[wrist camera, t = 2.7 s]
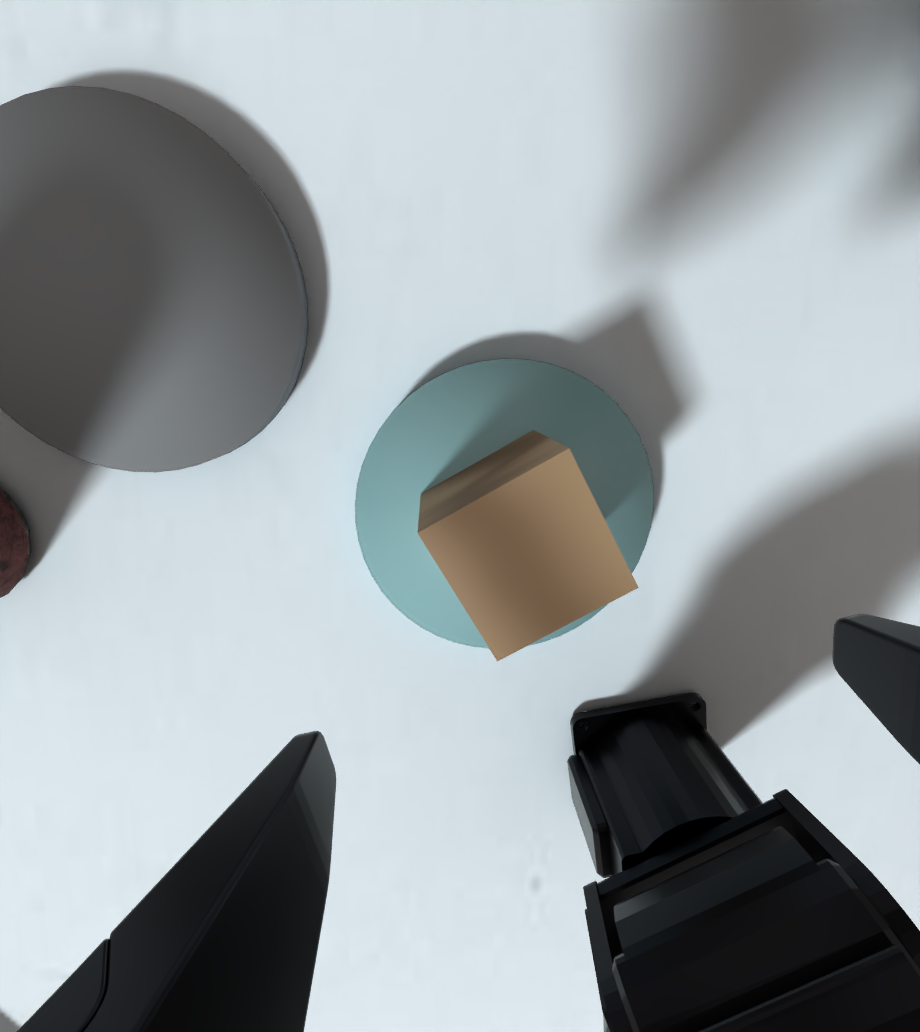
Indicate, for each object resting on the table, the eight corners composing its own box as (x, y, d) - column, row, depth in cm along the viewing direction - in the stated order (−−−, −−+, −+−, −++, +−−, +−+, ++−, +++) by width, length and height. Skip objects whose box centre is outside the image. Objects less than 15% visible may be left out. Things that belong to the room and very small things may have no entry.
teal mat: (632, 335, 19) (645, 333, 18) (648, 609, 22) (660, 622, 21) (328, 387, 19) (322, 388, 18) (391, 655, 22) (389, 670, 21)
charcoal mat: (257, 79, 16) (243, 56, 15) (341, 438, 19) (335, 442, 18) (-104, 139, 16) (-147, 120, 15) (42, 490, 19) (18, 497, 18)
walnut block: (533, 429, 19) (569, 448, 14) (588, 536, 20) (638, 587, 15) (420, 493, 19) (417, 533, 14) (481, 594, 20) (497, 661, 16)
